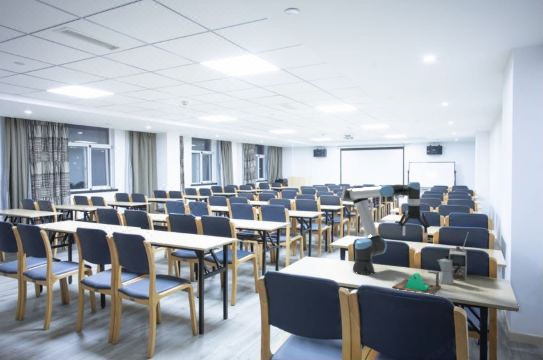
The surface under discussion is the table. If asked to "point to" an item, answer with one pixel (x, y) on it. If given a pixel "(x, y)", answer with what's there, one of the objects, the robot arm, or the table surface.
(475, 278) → the table surface
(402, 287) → the open wooden square frame
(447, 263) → the coffee maker
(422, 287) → the camera mount
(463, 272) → the portable television
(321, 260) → the table surface
